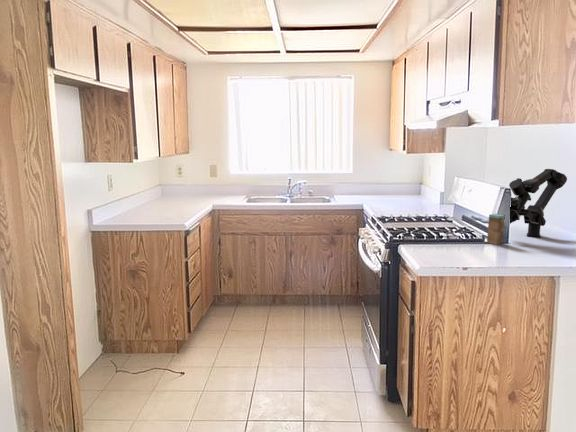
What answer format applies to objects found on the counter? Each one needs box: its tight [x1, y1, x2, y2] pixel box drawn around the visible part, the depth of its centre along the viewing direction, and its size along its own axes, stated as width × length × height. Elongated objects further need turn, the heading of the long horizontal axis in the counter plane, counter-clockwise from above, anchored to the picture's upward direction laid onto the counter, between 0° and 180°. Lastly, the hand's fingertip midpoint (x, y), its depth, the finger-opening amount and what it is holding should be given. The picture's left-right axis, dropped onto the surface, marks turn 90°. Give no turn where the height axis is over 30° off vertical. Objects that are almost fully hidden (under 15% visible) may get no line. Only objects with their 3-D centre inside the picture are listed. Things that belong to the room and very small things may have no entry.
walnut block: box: [486, 213, 505, 246], centre depth 242 cm, size 5×5×14 cm
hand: (504, 225), depth 246 cm, fingers closed
